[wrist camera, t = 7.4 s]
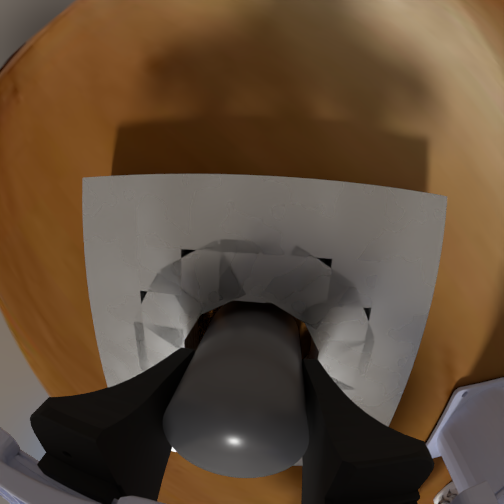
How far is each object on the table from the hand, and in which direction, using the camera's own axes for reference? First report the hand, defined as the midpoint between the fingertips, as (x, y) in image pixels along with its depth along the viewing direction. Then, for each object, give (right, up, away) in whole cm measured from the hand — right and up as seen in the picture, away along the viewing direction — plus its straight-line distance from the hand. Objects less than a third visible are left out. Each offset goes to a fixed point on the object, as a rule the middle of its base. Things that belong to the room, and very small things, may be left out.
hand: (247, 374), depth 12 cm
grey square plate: (0, +1, +3) cm, 3 cm away
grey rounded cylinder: (0, +1, +3) cm, 3 cm away
